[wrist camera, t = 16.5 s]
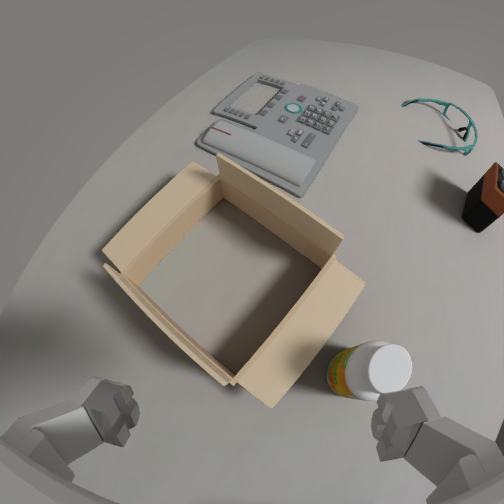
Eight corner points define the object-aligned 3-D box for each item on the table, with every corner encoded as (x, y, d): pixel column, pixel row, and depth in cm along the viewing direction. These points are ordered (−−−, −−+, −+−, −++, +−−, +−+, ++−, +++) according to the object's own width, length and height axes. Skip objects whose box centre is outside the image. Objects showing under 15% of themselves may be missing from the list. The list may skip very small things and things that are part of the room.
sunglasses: (477, 163, 38) (488, 148, 34) (418, 156, 40) (427, 137, 36) (451, 115, 44) (459, 99, 39) (395, 105, 46) (401, 87, 41)
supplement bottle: (332, 344, 28) (367, 328, 19) (376, 354, 27) (424, 340, 18) (319, 392, 26) (351, 398, 17) (365, 400, 25) (411, 406, 16)
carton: (266, 405, 26) (270, 421, 18) (114, 265, 32) (80, 238, 24) (356, 289, 30) (384, 266, 23) (201, 177, 36) (189, 135, 29)
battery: (460, 218, 34) (497, 183, 24) (467, 191, 36) (498, 156, 26) (479, 235, 33) (517, 203, 23) (484, 207, 34) (517, 174, 25)
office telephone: (305, 192, 33) (178, 135, 37) (302, 203, 35) (181, 146, 40) (361, 100, 40) (260, 64, 44) (357, 111, 42) (260, 74, 47)
